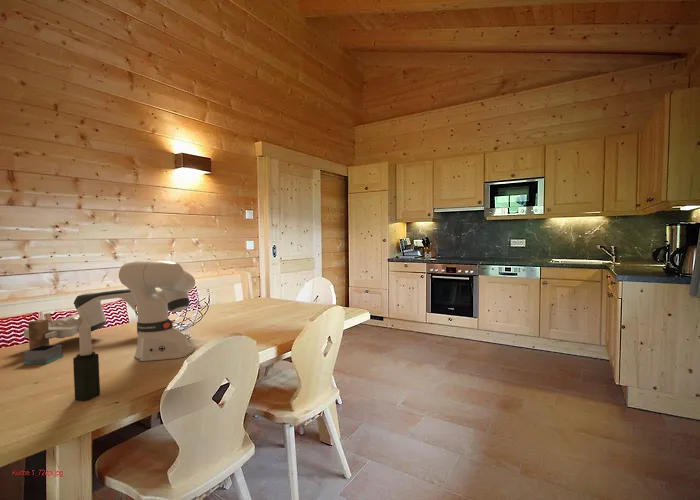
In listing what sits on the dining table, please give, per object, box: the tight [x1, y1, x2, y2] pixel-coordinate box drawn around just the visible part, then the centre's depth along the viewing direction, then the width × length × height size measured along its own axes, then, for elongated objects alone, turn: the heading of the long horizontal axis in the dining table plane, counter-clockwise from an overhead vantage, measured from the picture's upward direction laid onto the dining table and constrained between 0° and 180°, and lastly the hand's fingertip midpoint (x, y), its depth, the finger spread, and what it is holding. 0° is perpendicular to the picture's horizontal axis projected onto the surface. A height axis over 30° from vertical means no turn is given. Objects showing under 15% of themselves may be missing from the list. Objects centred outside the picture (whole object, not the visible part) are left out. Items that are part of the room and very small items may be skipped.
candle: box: [72, 316, 101, 402], centre depth 108 cm, size 5×5×25 cm
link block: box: [27, 319, 50, 350], centre depth 150 cm, size 4×4×14 cm
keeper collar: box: [23, 344, 64, 365], centre depth 142 cm, size 9×9×5 cm
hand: (37, 336), depth 150 cm, fingers closed on link block, 4 cm apart
